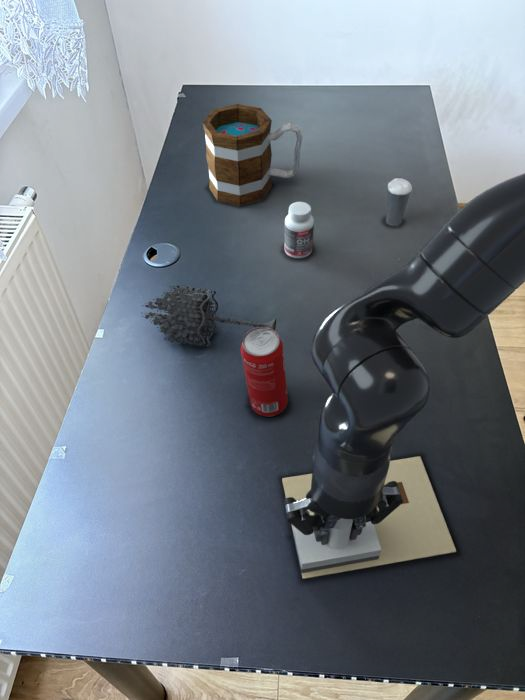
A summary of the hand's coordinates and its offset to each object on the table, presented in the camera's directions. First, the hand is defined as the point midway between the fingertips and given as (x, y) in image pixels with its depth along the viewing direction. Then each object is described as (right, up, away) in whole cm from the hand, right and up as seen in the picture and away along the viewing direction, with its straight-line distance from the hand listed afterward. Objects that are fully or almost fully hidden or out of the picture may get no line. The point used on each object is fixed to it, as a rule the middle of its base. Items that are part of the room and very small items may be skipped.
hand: (337, 534), depth 74 cm
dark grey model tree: (-18, +25, +27) cm, 41 cm away
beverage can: (-9, +15, +18) cm, 24 cm away
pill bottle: (-2, +42, +40) cm, 58 cm away
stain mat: (+4, +1, +6) cm, 7 cm away
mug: (-11, +58, +54) cm, 80 cm away
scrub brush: (0, -2, +3) cm, 3 cm away
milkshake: (+17, +48, +45) cm, 68 cm away
